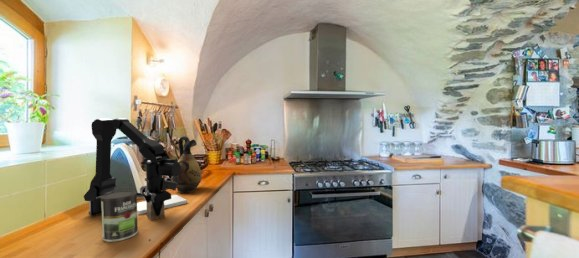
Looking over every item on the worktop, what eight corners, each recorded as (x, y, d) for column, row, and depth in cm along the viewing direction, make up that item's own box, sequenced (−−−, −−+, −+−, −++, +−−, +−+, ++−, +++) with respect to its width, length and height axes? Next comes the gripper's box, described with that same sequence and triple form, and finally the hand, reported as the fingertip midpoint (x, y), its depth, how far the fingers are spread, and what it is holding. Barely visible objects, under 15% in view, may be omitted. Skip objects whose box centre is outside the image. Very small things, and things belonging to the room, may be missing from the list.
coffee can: (144, 232, 90) (142, 192, 90) (111, 245, 82) (109, 200, 81) (128, 226, 96) (127, 188, 95) (96, 237, 87) (94, 195, 86)
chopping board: (139, 214, 107) (139, 211, 107) (130, 207, 117) (130, 204, 117) (186, 203, 122) (186, 200, 121) (175, 197, 131) (175, 194, 131)
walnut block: (151, 220, 101) (150, 205, 101) (147, 216, 105) (146, 202, 105) (164, 216, 105) (164, 202, 105) (160, 213, 108) (159, 199, 108)
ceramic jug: (208, 189, 146) (206, 135, 144) (184, 196, 132) (182, 137, 131) (188, 185, 154) (186, 135, 153) (164, 191, 141) (162, 136, 140)
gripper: (184, 175, 103) (185, 214, 104) (166, 169, 117) (167, 203, 117) (153, 180, 95) (155, 222, 96) (138, 173, 109) (140, 210, 109)
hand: (155, 213), depth 105 cm, fingers closed on walnut block, 5 cm apart
